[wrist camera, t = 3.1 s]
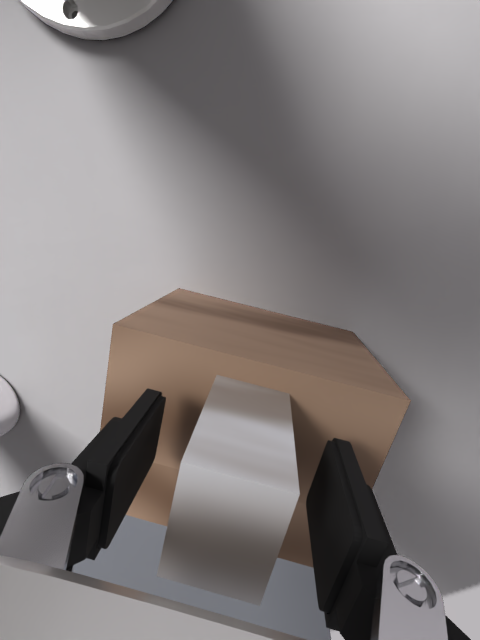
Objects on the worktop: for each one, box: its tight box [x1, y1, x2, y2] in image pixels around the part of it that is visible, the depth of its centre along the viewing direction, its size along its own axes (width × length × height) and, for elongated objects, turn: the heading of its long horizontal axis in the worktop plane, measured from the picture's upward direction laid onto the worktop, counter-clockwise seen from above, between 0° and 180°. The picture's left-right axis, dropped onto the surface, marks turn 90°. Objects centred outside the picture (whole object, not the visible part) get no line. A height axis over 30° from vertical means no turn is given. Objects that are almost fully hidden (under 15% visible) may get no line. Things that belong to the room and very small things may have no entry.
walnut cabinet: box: [100, 288, 410, 606], centre depth 15 cm, size 9×12×14 cm
